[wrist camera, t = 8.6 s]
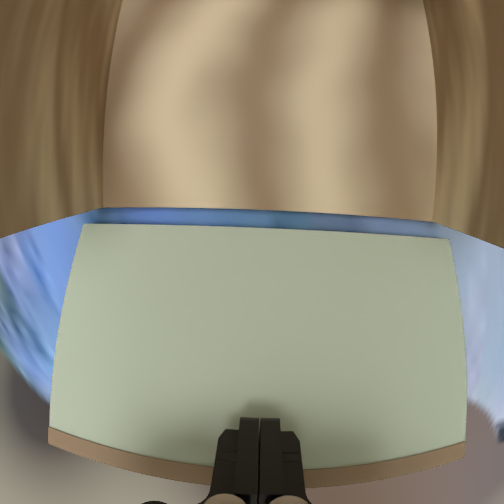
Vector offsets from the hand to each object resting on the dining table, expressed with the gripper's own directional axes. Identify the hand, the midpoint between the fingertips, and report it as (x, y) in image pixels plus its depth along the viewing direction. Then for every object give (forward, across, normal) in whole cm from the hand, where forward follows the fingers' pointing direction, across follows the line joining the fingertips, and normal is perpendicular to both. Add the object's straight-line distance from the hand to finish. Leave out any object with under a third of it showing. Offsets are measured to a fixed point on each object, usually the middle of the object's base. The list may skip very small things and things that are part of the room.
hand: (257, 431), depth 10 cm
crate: (+7, 0, -15) cm, 17 cm away
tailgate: (+7, 0, -6) cm, 9 cm away
